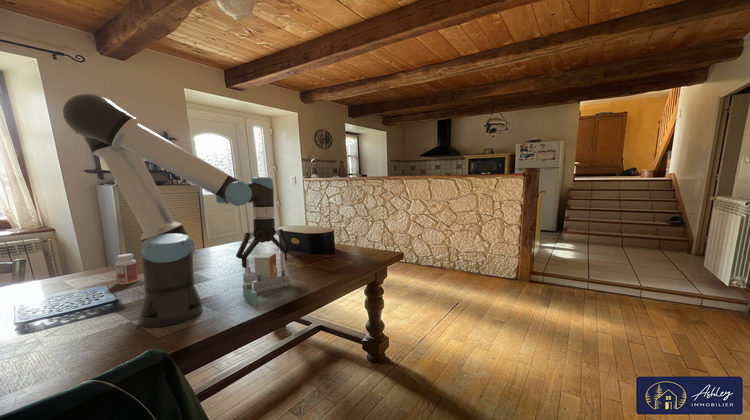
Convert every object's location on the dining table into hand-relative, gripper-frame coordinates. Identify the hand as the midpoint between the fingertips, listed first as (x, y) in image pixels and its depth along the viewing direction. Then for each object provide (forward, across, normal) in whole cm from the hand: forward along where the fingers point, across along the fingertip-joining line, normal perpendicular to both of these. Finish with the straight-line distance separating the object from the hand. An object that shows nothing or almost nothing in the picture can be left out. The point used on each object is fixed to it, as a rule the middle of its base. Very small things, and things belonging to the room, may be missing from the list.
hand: (265, 272), depth 109 cm
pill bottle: (+5, -42, +38) cm, 56 cm away
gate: (+5, -9, -12) cm, 16 cm away
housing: (+5, 0, 0) cm, 5 cm away
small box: (+4, 0, 0) cm, 4 cm away
